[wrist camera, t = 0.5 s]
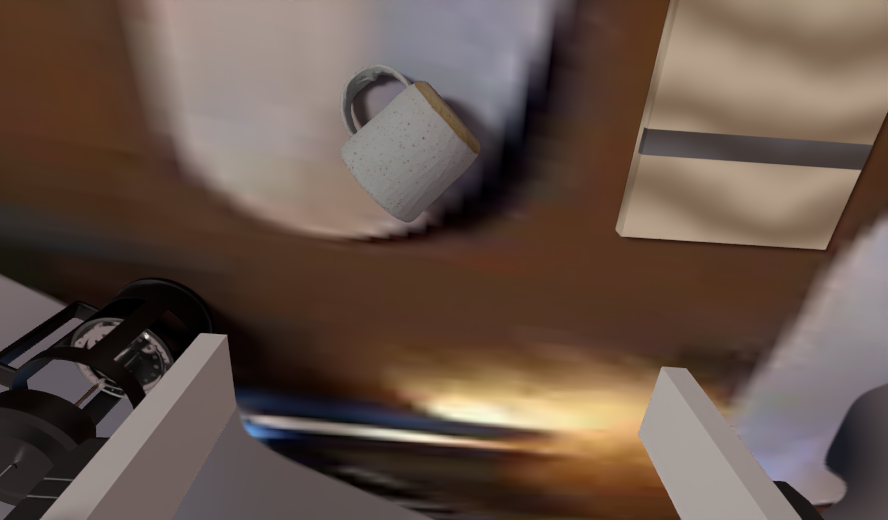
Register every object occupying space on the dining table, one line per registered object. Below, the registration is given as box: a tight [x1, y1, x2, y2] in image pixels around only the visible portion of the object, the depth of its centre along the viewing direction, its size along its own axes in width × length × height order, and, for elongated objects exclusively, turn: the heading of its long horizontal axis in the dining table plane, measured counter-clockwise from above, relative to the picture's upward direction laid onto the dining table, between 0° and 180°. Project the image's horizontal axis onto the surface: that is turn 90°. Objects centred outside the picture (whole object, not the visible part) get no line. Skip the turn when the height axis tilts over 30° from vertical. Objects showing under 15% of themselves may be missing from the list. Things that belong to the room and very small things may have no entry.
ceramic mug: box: [340, 65, 480, 222], centre depth 33 cm, size 11×8×8 cm
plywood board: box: [616, 0, 888, 250], centre depth 36 cm, size 20×18×2 cm
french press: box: [0, 278, 214, 506], centre depth 34 cm, size 12×9×23 cm
